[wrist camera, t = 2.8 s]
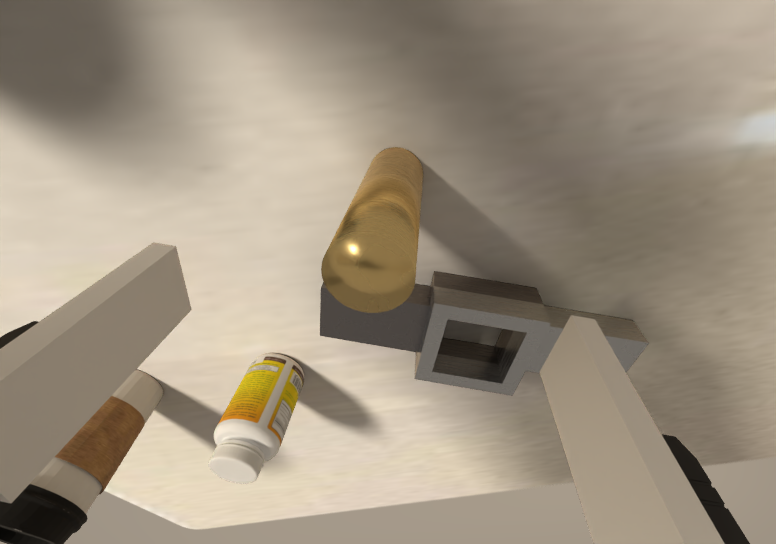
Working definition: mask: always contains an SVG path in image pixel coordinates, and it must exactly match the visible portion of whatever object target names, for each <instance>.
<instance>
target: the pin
mask: <svg viewBox="0 0 776 544" xmlns="http://www.w3.org/2000/svg"><path fill="white" fill-rule="evenodd" d="M422 183H423V169H422V166H421V163H420V161H419V160H418V158H417V157H416V156H415V155H414V154H413V153H411V152H410V151H408V150H406V149H403V148H398V147H392V148H388V149H385V150H383V151H381V152H380V153H379V154H377V155H376V157H375V158H374V159H373V161H372V163H371V165H370V167H369V169H368V171H367V173H366V175H365V177H364V179H363V181H362V182H361V184H360V186H359V188H358V190H357V192H356V194H355V196H354V198H353V200H352V202H351V204H350V206H349V208H348V210H347V212H346V214H345V216H344V218H343V220H342V222H341V224H340V226H339V228H338V230H337V232H336V234H335V236H334V238H333V240H332V242H331V244H330V246H329V248H328V250H327V252H326V254H325V256H324V258H323V262H322V268H321V270H322V278H323V281H324V284H325V286H326V288H327V289H328V291H329V292H330V293H331V294H332V296H333V297H334V298H335V299H337V300H338V301H339V302H340V303H342V304H343V305H345V306H347V307H349V308H351V309H354V310H357V311H361V312H367V313H380V312H385V311H389V310H392V309H394V308H396V307H398V306H400V305H401V304H402V303H404V302H405V301H406V300H407V299H408V297H409V296H410V294H411V293H412V291H413V288H414V285H415V276H416V262H417V249H418V236H419V223H420V209H421V196H422Z"/></svg>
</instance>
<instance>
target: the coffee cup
mask: <svg viewBox="0 0 776 544" xmlns="http://www.w3.org/2000/svg"><path fill="white" fill-rule="evenodd" d="M162 396H163V389H162V387H161V385H160V384H159V383H158V382H157V381H156V380H155V379H154V378H153V377H151V376H150V375H148V374H146V373H144V372H142V371H140V370H135V371H134V372H133V373H132V374H131V375H130V376H129V377H128V378H127V380H126V381H125V382H124V383H123V384H122V385H121V386H120V387H119V388H118V389H117V390H116V391H115V392H114V394H113V395H112V396H111V397H110V398H109V399H108V400H107V401H106V402H105V403H104V404H103V405H102V406H101V408H100V409H99V410H98V411H97V412H96V413H95V414H94V415H93V416H92V417H91V418H90V419H89V420H88V421H87V423H86V424H85V425H84V426H83V427H82V428H81V429H80V430H79V431H78V432H77V433H76V434H75V435H74V437H73V438H72V439H71V440H70V441H69V442H68V443H67V444H66V445H65V446H64V447H63V448H62V449H61V451H60V452H59V453H58V454H57V455H56V456H55V457H54V458H53V459H52V460H51V461H50V462H49V463H48V465H47V466H46V467H45V468H44V469H43V470H42V471H41V472H40V473H39V474H38V475H37V476H36V477H35V478H34V480H33V481H32V482H31V483H30V484H29V485H28V486H27V487H26V488H25V489H24V490H23V491H22V492H21V494H20V495H19V496H18V497H17V498H16V499H15V500H14V501H13V502H12V503H7V502H2V501H0V541H1V542H4V543H7V544H64V542H65V541H66V540H67V539H68V538H69V537H70V536H71V535H72V534H73V533H75V532H77V531H78V530H79V529H80V528H81V526H82V525H83V524H84V523H85V522H86V521H87V515H86V513H87V511H88V509H89V508H90V507H91V505H92V503H93V502H94V501H95V499H96V497H97V496H98V495H99V494H101V493H102V492H103V491H104V489H105V488H106V486H107V485H108V483H109V481H110V480H111V478H112V476H113V475H114V473H115V472H116V470H117V468H118V467H119V465H120V464H121V462H122V460H123V459H124V457H125V456H126V454H127V452H128V451H129V449H130V448H131V446H132V444H133V443H134V441H135V440H136V438H137V436H138V435H139V433H140V432H141V430H142V428H143V427H144V424H145V423H146V421H147V420H148V418H149V417H150V415H151V414H152V412H153V411H154V409H155V408H156V406H157V405H158V403H159V401H160V400H161V398H162Z"/></svg>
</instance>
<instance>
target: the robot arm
mask: <svg viewBox="0 0 776 544" xmlns="http://www.w3.org/2000/svg"><path fill="white" fill-rule="evenodd" d="M190 311H191V306H190V302H189V297H188V293H187V289H186V285H185V281H184V277H183V273H182V269H181V265H180V261H179V257H178V253H177V249H176V246H171V245H165V244H159V243H152V244H151V245H149V246H148V247H146V248H145V249H144V250H142V251H141V252H139V253H138V254H136V255H135V256H133V257H132V258H131V259H129V260H128V261H126V262H125V263H123V264H122V265H120V266H119V267H118V268H116V269H115V270H113V271H112V272H110V273H109V274H108V275H106V276H105V277H103V278H102V279H100V280H99V281H97V282H96V283H95V284H93V285H92V286H90V287H89V288H87V289H86V290H85V291H83V292H82V293H80V294H79V295H77V296H76V297H74V298H73V299H72V300H70V301H69V302H67V303H66V304H64V305H63V306H61V307H60V308H59V309H57V310H56V311H54V312H53V313H51V314H50V315H49V316H47V317H46V318H44V319H43V320H41V321H40V322H37V321H34V322H31V323H29V324H27V325H24V326H22V327H20V328H18V329H15V330H13V331H11V332H9V333H7V334H5V335H4V336H2V337H1V338H0V501H2V502H7V503H12V502H13V501H14V500H15V499H16V498H17V497H18V496H19V495H20V494H21V492H22V491H23V490H24V489H25V488H26V487H27V486H28V485H29V484H30V483H31V482H32V481H33V480H34V478H35V477H36V476H37V475H38V474H39V473H40V472H41V471H42V470H43V469H44V468H45V467H46V466H47V465H48V463H49V462H50V461H51V460H52V459H53V458H54V457H55V456H56V455H57V454H58V453H59V452H60V451H61V449H62V448H63V447H64V446H65V445H66V444H67V443H68V442H69V441H70V440H71V439H72V438H73V437H74V435H75V434H76V433H77V432H78V431H79V430H80V429H81V428H82V427H83V426H84V425H85V424H86V423H87V421H88V420H89V419H90V418H91V417H92V416H93V415H94V414H95V413H96V412H97V411H98V410H99V409H100V408H101V406H102V405H103V404H104V403H105V402H106V401H107V400H108V399H109V398H110V397H111V396H112V395H113V394H114V392H115V391H116V390H117V389H118V388H119V387H120V386H121V385H122V384H123V383H124V382H125V381H126V380H127V378H128V377H129V376H130V375H131V374H132V373H133V372H134V371H135V370H136V369H137V368H138V367H139V366H140V365H141V363H142V362H143V361H144V360H145V359H146V358H147V357H148V356H149V355H150V354H151V353H152V352H153V351H154V349H155V348H156V347H157V346H158V345H159V344H160V343H161V342H162V341H163V340H164V339H165V338H166V337H167V335H168V334H169V333H170V332H171V331H172V330H173V329H174V328H175V327H176V326H177V325H178V324H179V323H180V321H181V320H182V319H183V318H184V317H185V316H186V315H187V314H188V313H189V312H190ZM540 375H541V378H542V382H543V385H544V388H545V391H546V394H547V398H548V401H549V404H550V407H551V410H552V413H553V417H554V420H555V423H556V426H557V429H558V433H559V436H560V439H561V442H562V445H563V448H564V452H565V455H566V458H567V461H568V464H569V468H570V471H571V474H572V477H573V480H574V483H575V487H576V490H577V492H578V496H579V499H580V502H581V505H582V509H583V512H584V515H585V518H586V522H587V525H588V528H589V531H590V534H591V538H592V541H593V544H750V543H749V542H748V540H747V539H746V537H745V535H744V534H743V532H742V530H741V529H740V527H739V526H738V524H737V523H736V521H735V519H734V518H733V516H732V515H731V513H730V512H729V510H728V509H726V508H725V507H724V502H723V500H722V499H721V497H720V495H719V494H718V492H717V491H716V489H715V488H713V487H712V486H711V481H710V480H709V478H708V476H707V475H706V473H705V472H704V470H703V468H702V467H701V465H700V464H699V462H698V460H697V459H696V458H695V457H694V456H693V455H692V454H691V453H690V452H689V451H688V449H687V448H686V447H685V446H684V445H683V444H682V443H681V442H680V441H679V440H678V439H677V438H676V437H674V436H668V435H663V434H661V433H660V431H659V429H658V428H657V426H656V424H655V422H654V421H653V419H652V417H651V415H650V414H649V412H648V410H647V408H646V407H645V405H644V403H643V402H642V400H641V398H640V396H639V395H638V393H637V391H636V389H635V388H634V386H633V384H632V383H631V381H630V379H629V377H628V376H627V374H626V372H625V370H624V369H623V367H622V365H621V363H620V362H619V360H618V358H617V357H616V355H615V353H614V351H613V350H612V348H611V346H610V344H609V343H608V341H607V339H606V338H605V336H604V334H603V332H602V331H601V329H600V327H599V325H598V324H597V322H596V320H595V319H590V318H585V317H579V316H573V315H571V316H570V318H569V320H568V322H567V323H566V325H565V327H564V329H563V331H562V332H561V334H560V336H559V338H558V340H557V341H556V343H555V345H554V347H553V349H552V350H551V352H550V354H549V356H548V358H547V359H546V361H545V363H544V365H543V366H542V368H541V370H540Z"/></svg>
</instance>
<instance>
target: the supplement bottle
mask: <svg viewBox="0 0 776 544" xmlns="http://www.w3.org/2000/svg"><path fill="white" fill-rule="evenodd" d="M303 383H304V372H303V370H302V368H301V367H300V366H299V364H298V363H296V362H295V361H294V360H292V359H291V358H289V357H287V356H284V355H281V354H275V353H268V354H263V355H261V356H259V357H257V358H256V359H255V360H254V361H253V362H252V364H251V365H250V367H249V369H248V371H247V373H246V375H245V376H244V378H243V380H242V382H241V383H240V385H239V387H238V389H237V391H236V393H235V394H234V396H233V398H232V400H231V402H230V403H229V405H228V407H227V409H226V411H225V412H224V414H223V416H222V418H221V420H220V421H219V423H218V425H217V427H216V429H215V431H214V440H215V443H216V445H217V447H216V448H215V450H214V453H213V455H212V457H211V459H210V461H209V468H210V470H211V471H212V472H213V473H214V474H215V475H217V476H218V477H220V478H222V479H224V480H226V481H229V482H233V483H239V484H247V483H251V482H254V481H255V480H256V479H257V478H258V475H259V473H260V470H261V468H262V467H263V463H264V462H265V461H268V460H270V459H272V458H273V457H274V456H275V455H276V454H277V452H278V450H279V448H280V446H281V443H282V440H283V437H284V435H285V432H286V429H287V427H288V424H289V421H290V418H291V416H292V413H293V410H294V408H295V405H296V402H297V399H298V397H299V394H300V391H301V389H302V386H303Z"/></svg>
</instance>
